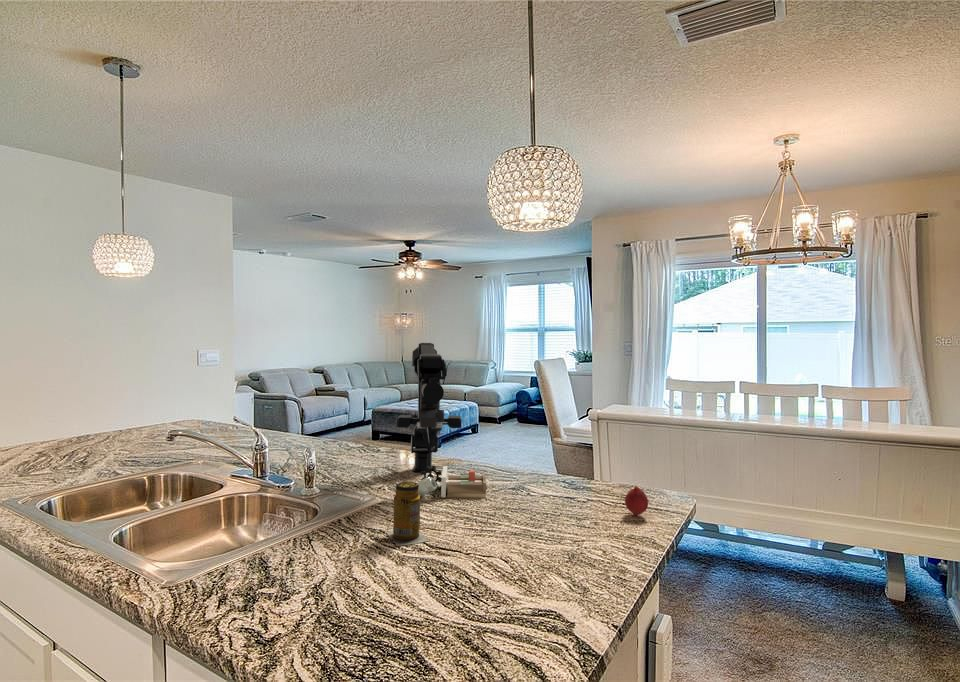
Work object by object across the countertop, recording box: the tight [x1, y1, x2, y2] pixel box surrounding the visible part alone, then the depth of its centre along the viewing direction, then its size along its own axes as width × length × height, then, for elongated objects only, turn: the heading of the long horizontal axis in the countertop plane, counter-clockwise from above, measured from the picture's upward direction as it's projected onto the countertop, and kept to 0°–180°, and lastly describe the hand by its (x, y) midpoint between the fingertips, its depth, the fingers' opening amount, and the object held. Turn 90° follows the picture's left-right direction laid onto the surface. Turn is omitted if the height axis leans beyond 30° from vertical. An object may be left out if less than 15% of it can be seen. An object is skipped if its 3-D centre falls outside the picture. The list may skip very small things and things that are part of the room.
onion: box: [624, 484, 649, 516], centre depth 134 cm, size 6×6×8 cm
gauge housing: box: [446, 473, 487, 499], centre depth 151 cm, size 10×11×4 cm
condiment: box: [386, 480, 429, 547], centre depth 117 cm, size 7×8×12 cm
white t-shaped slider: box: [440, 465, 482, 498], centre depth 151 cm, size 12×12×6 cm
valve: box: [416, 465, 442, 497], centre depth 148 cm, size 7×7×12 cm
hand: (429, 450), depth 151 cm, fingers closed
